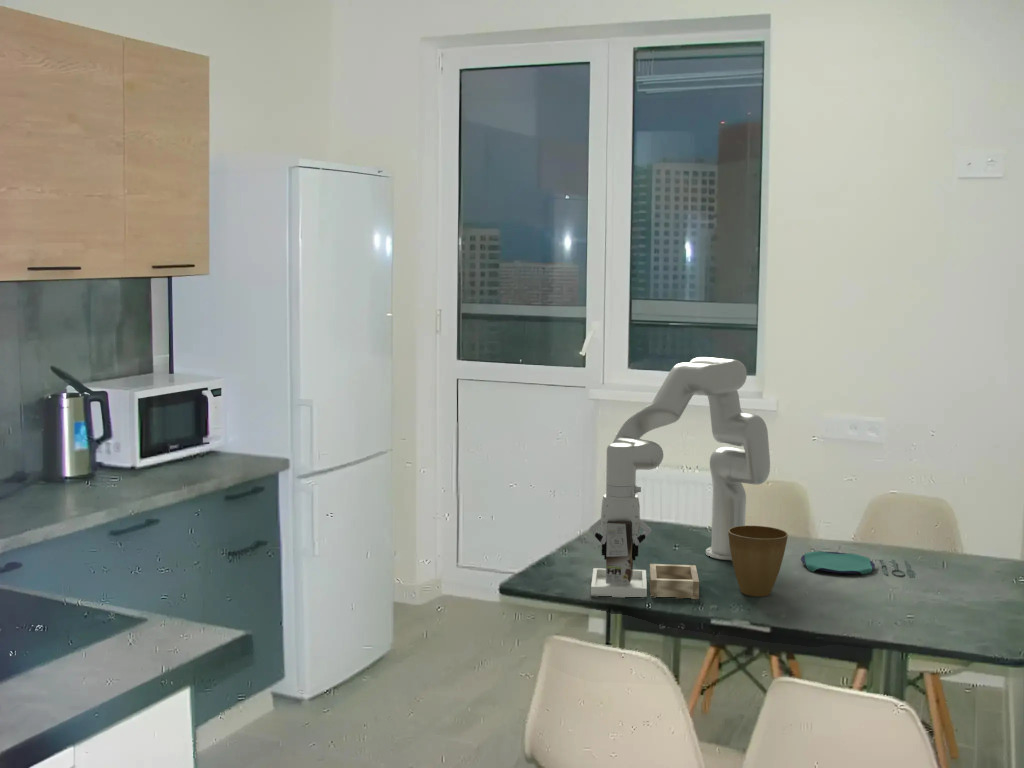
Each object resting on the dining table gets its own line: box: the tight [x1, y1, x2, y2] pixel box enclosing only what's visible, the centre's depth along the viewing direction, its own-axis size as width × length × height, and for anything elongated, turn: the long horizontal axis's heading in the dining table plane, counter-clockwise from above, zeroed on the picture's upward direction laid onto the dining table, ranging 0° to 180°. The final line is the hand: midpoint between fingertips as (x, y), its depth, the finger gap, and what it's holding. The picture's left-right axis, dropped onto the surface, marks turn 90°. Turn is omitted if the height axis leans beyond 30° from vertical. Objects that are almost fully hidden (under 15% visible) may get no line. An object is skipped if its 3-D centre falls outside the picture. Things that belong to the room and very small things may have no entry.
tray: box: [590, 567, 648, 598], centre depth 278 cm, size 14×17×2 cm
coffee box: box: [605, 521, 634, 585], centre depth 277 cm, size 9×6×16 cm
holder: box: [649, 563, 700, 600], centre depth 277 cm, size 12×15×4 cm
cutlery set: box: [800, 550, 916, 579], centre depth 298 cm, size 20×30×2 cm, turn 76°
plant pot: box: [728, 525, 789, 598], centre depth 274 cm, size 15×15×16 cm
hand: (619, 558), depth 278 cm, fingers closed on coffee box, 6 cm apart
